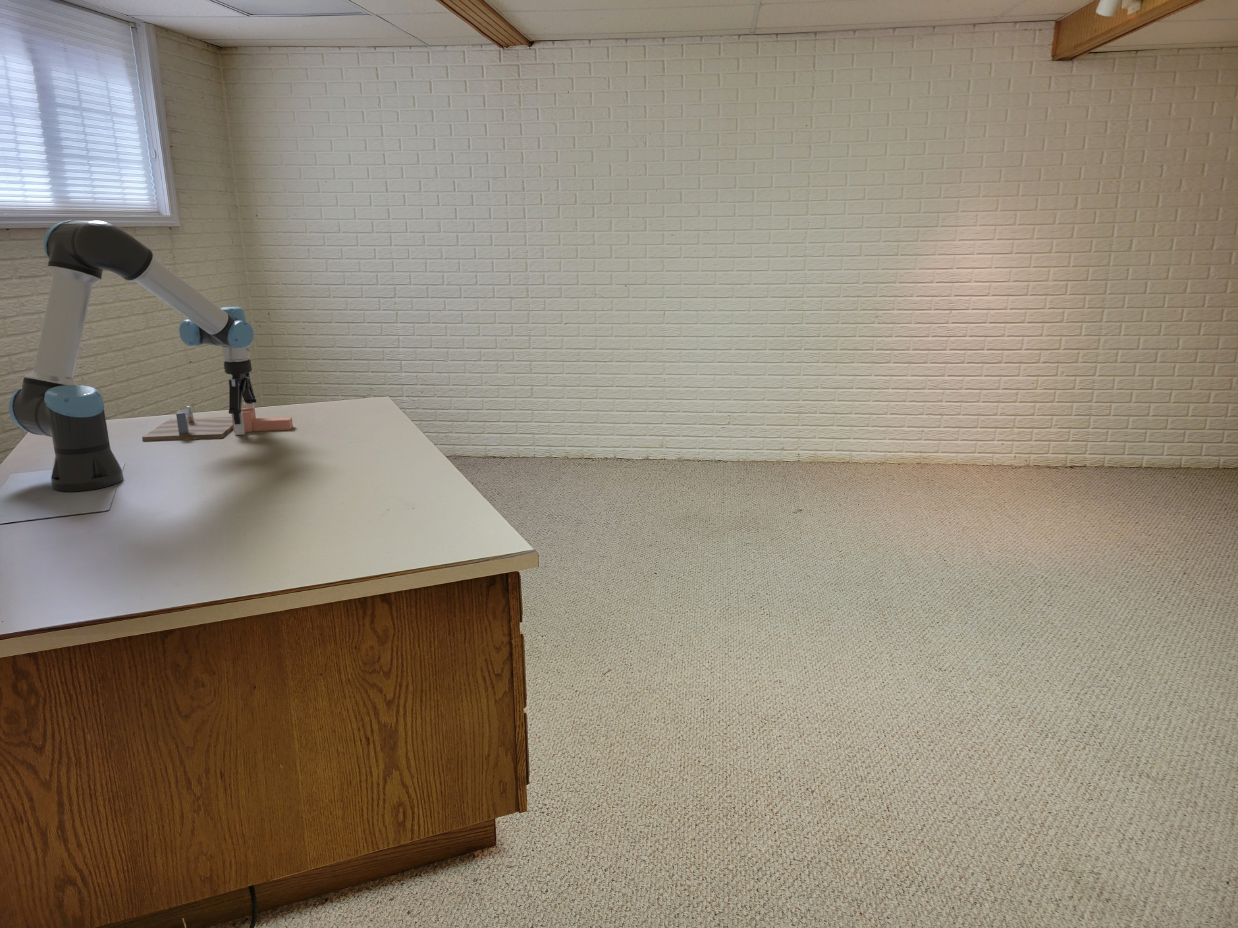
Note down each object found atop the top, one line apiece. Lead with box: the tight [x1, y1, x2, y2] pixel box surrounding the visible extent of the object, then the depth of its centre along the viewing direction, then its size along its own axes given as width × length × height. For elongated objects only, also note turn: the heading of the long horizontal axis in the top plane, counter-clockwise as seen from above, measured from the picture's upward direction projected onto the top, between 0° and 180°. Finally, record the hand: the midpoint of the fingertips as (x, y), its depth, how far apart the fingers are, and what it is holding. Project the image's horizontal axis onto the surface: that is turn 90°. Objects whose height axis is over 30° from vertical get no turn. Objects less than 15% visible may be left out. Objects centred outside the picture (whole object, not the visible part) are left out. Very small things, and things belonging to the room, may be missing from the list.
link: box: [231, 407, 294, 433], centre depth 271 cm, size 16×5×6 cm, turn 98°
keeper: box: [175, 408, 189, 434], centre depth 263 cm, size 6×2×7 cm, turn 18°
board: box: [141, 416, 234, 442], centre depth 271 cm, size 24×22×1 cm
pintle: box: [185, 405, 195, 423], centre depth 276 cm, size 2×2×6 cm
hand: (245, 429), depth 271 cm, fingers open, 13 cm apart
